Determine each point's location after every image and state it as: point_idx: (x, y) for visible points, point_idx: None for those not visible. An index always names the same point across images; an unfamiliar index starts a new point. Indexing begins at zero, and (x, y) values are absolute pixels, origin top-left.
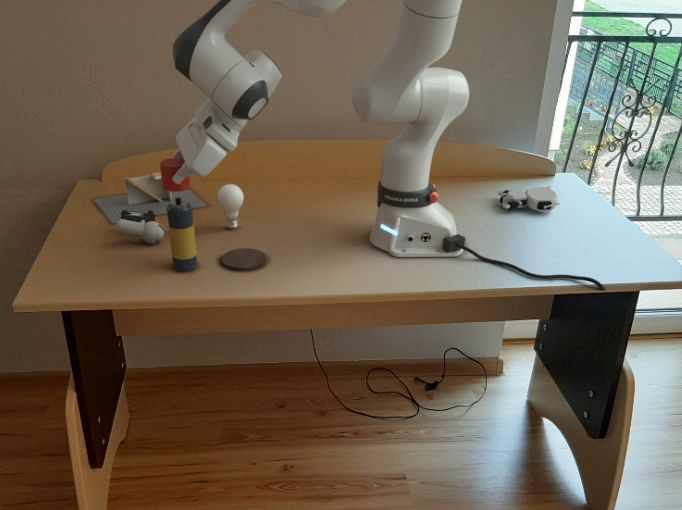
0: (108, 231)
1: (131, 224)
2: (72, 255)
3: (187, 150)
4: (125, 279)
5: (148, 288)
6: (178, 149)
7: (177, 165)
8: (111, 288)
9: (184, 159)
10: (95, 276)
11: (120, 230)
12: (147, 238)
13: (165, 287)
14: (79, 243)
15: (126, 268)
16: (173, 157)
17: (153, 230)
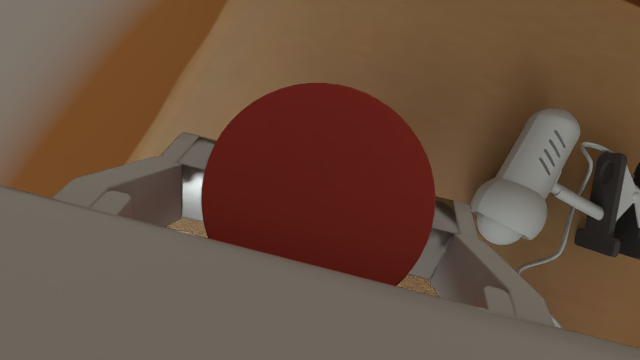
0: (619, 130)
1: (535, 147)
2: (504, 9)
3: (103, 280)
4: (310, 76)
5: (234, 107)
6: (525, 318)
7: (231, 189)
8: (282, 34)
9: (49, 199)
10: (362, 21)
11: (530, 117)
12: (479, 187)
13: None
14: (570, 43)
15: None
16: (476, 250)
17: (487, 204)
